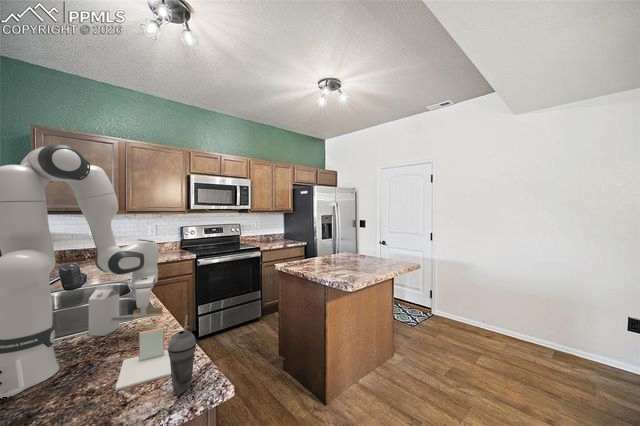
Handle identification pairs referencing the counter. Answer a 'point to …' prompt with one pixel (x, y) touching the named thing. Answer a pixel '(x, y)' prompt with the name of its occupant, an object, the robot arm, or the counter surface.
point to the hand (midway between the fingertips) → (143, 312)
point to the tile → (151, 344)
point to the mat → (143, 370)
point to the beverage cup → (182, 359)
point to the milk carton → (103, 311)
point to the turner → (138, 315)
